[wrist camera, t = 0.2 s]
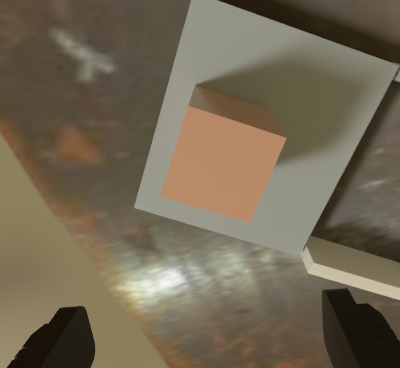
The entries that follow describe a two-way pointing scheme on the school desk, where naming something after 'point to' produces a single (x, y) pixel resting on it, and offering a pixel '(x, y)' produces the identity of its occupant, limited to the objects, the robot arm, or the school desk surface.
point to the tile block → (223, 155)
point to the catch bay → (353, 262)
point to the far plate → (280, 110)
